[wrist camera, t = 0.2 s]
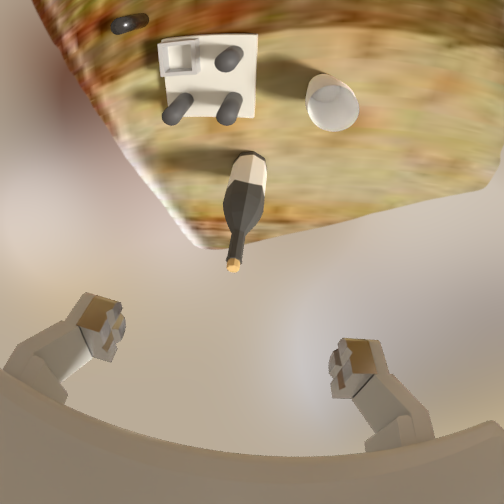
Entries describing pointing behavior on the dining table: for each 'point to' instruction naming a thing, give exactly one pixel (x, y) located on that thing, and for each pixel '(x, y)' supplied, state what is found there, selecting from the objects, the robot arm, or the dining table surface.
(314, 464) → the robot arm
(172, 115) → the white board with pegs
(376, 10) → the dining table surface
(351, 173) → the dining table surface
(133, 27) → the dark rounded cylinder
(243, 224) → the wine bottle
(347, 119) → the cup
